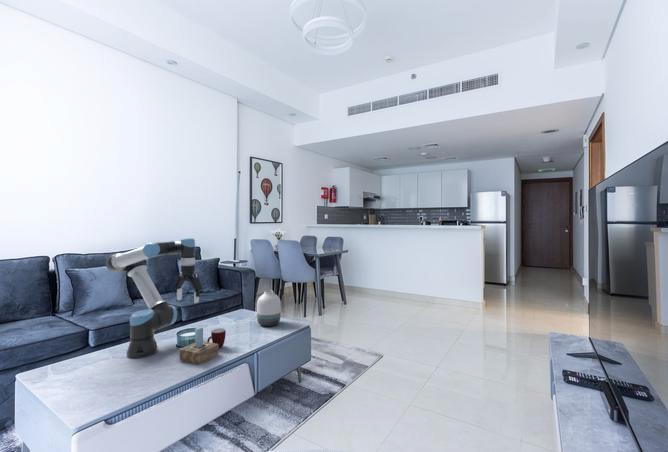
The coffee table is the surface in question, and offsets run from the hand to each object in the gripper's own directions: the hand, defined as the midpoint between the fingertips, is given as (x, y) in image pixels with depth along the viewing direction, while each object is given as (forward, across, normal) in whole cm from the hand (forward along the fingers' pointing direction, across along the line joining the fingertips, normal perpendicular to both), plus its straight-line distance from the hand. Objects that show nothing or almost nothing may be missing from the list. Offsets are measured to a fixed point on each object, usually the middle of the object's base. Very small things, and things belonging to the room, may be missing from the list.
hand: (187, 301), depth 188 cm
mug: (+28, +14, +8) cm, 33 cm away
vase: (+28, +16, +58) cm, 66 cm away
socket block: (+28, +15, -6) cm, 32 cm away
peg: (+28, +15, -6) cm, 32 cm away
